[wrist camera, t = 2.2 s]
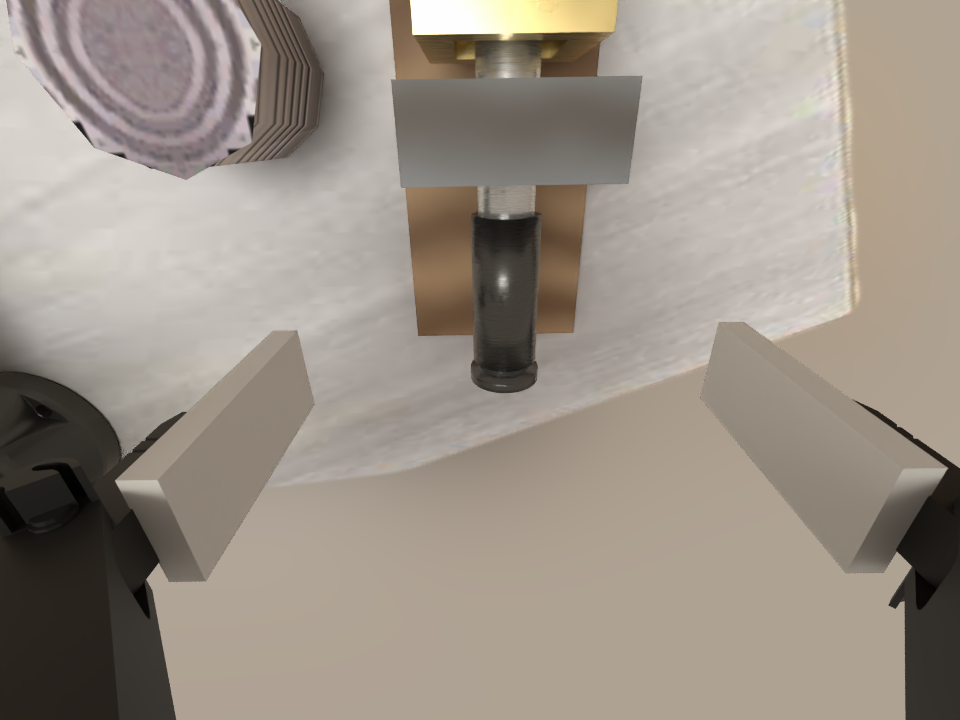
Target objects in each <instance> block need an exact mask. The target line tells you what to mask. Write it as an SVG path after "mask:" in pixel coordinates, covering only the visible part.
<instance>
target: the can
mask: <svg viewBox="0 0 960 720" xmlns="http://www.w3.org/2000/svg"><path fill="white" fill-rule="evenodd" d="M6 2H7V9H8V15H9V22H10V28H11V35H12V41H13V48H14V53H15V54H16V55H17V57H18V58H19V59H20V60H21V61H22V63H23V64H24V65H25V66H26V67H27V68H28V70H29V71H30V72H31V73H32V74H33V76H34V77H35V78H36V79H37V80H38V81H39V83H40V84H41V85H42V86H43V87H44V89H45V90H46V91H47V92H48V93H49V94H50V96H51V97H52V98H53V99H54V100H55V102H56V103H57V104H58V105H59V106H60V108H61V109H62V110H63V111H64V112H65V113H66V115H67V116H68V117H69V118H70V119H71V121H72V122H73V123H74V124H75V125H76V126H77V128H78V129H79V130H80V131H81V132H82V134H83V135H84V136H85V137H86V138H87V139H88V141H89V142H90V143H91V144H92V145H93V147H94V148H96V149H99V150H102V151H105V152H108V153H111V154H114V155H116V156H119V157H122V158H125V159H128V160H131V161H134V162H137V163H139V164H142V165H145V166H147V167H149V168H150V169H157V170H159V171H162V172H165V173H168V174H171V175H174V176H177V177H180V178H182V179H185V180H187V179H189V178H190V177H192V176H194V175H196V174H197V173H199V172H201V171H203V170H204V169H206V168H208V167H211V166H221V165H229V164H237V163H245V162H253V161H261V160H269V159H278V158H286V157H288V156H289V155H290V154H291V153H292V152H293V151H294V150H295V149H296V148H297V147H298V146H299V145H300V144H301V143H302V142H303V141H304V140H305V139H306V138H307V137H308V136H309V135H310V134H311V133H312V132H313V131H314V130H315V129H316V128H317V127H318V123H319V114H320V105H321V95H322V86H323V77H324V73H323V71H322V68H321V66H320V64H319V62H318V59H317V57H316V55H315V53H314V50H313V48H312V46H311V44H310V41H309V39H308V37H307V35H306V32H305V30H304V28H303V25H302V23H301V21H300V19H299V17H298V16H297V15H295V14H294V13H293V12H291V11H290V10H289V9H287V8H286V7H285V6H283V5H282V4H281V3H279V2H278V1H277V0H6Z"/></svg>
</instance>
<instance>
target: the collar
mask: <svg viewBox="0 0 960 720" xmlns="http://www.w3.org/2000/svg"><path fill="white" fill-rule="evenodd" d="M617 6H618V0H411V12H412V26H413V35H414V37H415V39H416V40H417V42H418V44H419V46H420V47H421V49H422V51H423V53H424V54H425V56H426V58H427V59H428V61H429V63H430V64H468V63H475V41H517V40H542V54H541V62H574V61H575V60H576V59H578V58H579V57H581V56H582V55H583V54H585V53H586V52H588V51H589V50H590V49H592V48H593V47H594V46H596V45H597V44H599V43H600V42H601V41H603V40H604V39H605V38H607V37H608V36H610V35H611V34H612V33H614V32H615V25H616V15H617Z"/></svg>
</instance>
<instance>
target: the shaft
mask: <svg viewBox="0 0 960 720" xmlns="http://www.w3.org/2000/svg"><path fill="white" fill-rule="evenodd" d="M541 54H542V40H517V41H475V75H476V78H538V77H541ZM535 197H536V185H524V186H477V201H478V212H475V213H473V214H471V254H472V297H473V341H474V360H473V362H472V364H471V378H472V381H473V382H474V383H475V384H476V385H477V386H478V387H480V388H482V389H484V390H487V391H491V392H496V393H513V392H519V391H523V390H525V389H528V388H529V387H531V386H532V385H533V384H535V382H536V380H537V369H538V366H537V363H536V361H535V347H536V327H537V306H538V286H539V265H540V245H541V225H542V214H541V213H539V212H535Z"/></svg>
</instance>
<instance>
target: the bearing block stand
mask: <svg viewBox="0 0 960 720" xmlns="http://www.w3.org/2000/svg"><path fill="white" fill-rule="evenodd" d="M389 2H390V14H391V25H392V37H393V48H394V60H395V71H396V80H391V82H392V93H393V104H394V115H395V126H396V137H397V148H398V159H399V170H400V181H401V188H406V199H407V210H408V222H409V233H410V245H411V257H412V268H413V280H414V291H415V303H416V314H417V326H418V336H438V335H473V297H472V254H471V214H473V213H475V212H478V201H477V186H524V185H536V197H535V212H539V213H541V214H542V225H541V245H540V265H539V286H538V306H537V327H536V333H573V330H574V319H575V308H576V297H577V286H578V275H579V264H580V253H581V242H582V231H583V220H584V209H585V199H586V188H587V184H628V182H629V174H630V167H631V159H632V152H633V144H634V136H635V129H636V121H637V114H638V106H639V99H640V91H641V83H642V76H607V77H597V67H598V57H599V46H600V43H599V44H597V45H596V46H594V47H593V48H592V49H590V50H589V51H588V52H586V53H585V54H583V55H582V56H581V57H579V58H578V59H576V60H575V61H574V62H541V77H538V78H476V75H475V63H468V64H430V63H429V61H428V59H427V58H426V56H425V54H424V53H423V51H422V49H421V47H420V46H419V44H418V42H417V40H416V39H415V37H414V35H413V26H412V12H411V0H389Z"/></svg>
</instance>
